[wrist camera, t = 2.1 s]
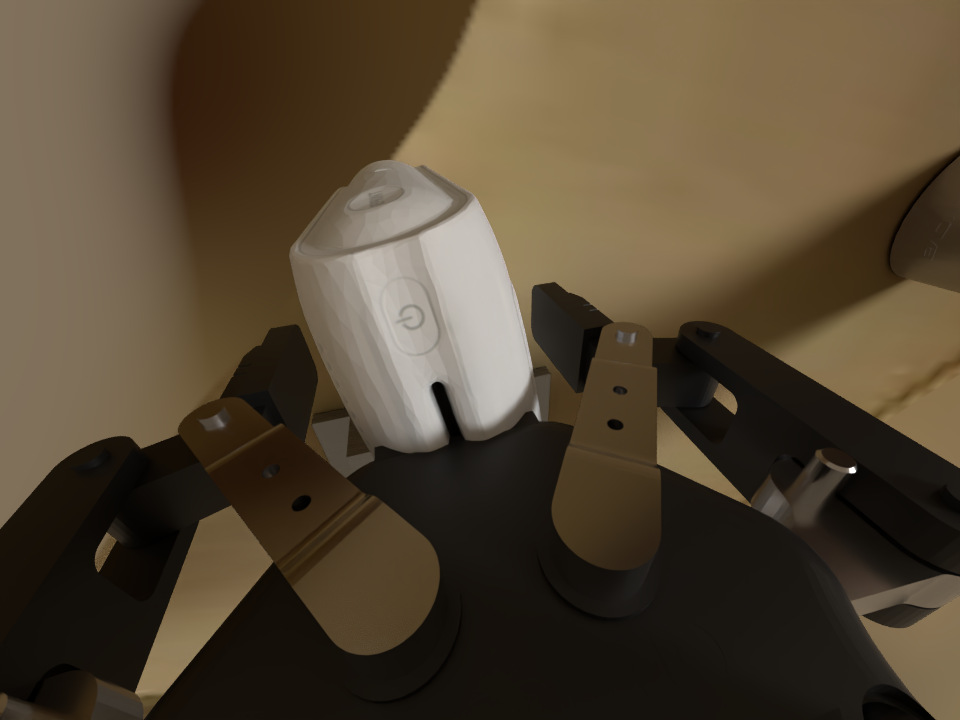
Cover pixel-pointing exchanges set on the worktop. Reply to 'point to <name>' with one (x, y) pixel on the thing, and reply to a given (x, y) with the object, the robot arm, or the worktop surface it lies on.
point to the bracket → (352, 451)
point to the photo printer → (414, 310)
